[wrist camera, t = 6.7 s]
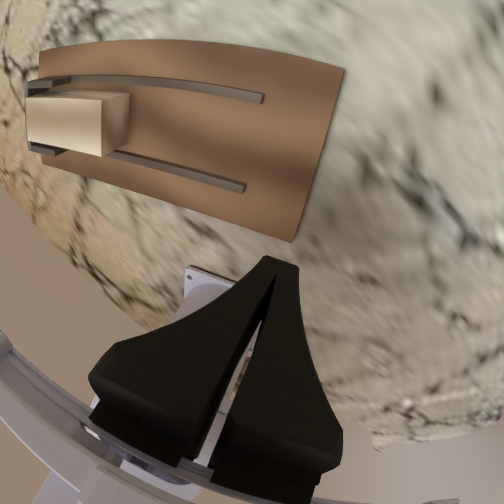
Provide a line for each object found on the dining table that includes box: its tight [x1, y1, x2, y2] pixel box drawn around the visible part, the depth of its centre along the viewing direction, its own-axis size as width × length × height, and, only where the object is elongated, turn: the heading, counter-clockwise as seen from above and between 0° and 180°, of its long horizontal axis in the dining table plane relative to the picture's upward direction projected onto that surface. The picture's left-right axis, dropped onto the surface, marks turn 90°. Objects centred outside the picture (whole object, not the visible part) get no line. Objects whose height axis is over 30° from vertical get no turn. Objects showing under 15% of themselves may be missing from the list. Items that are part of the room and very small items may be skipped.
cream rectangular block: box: [25, 90, 130, 157], centre depth 18 cm, size 4×10×3 cm, turn 78°
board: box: [25, 40, 345, 243], centre depth 18 cm, size 12×26×3 cm, turn 78°
